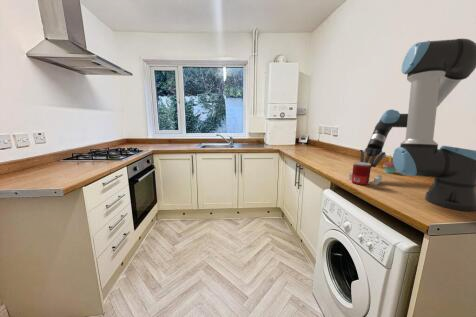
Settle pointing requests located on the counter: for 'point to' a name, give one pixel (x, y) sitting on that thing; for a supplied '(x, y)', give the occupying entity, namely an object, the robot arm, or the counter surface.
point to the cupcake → (389, 167)
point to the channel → (376, 179)
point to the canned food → (361, 173)
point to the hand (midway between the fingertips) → (363, 175)
